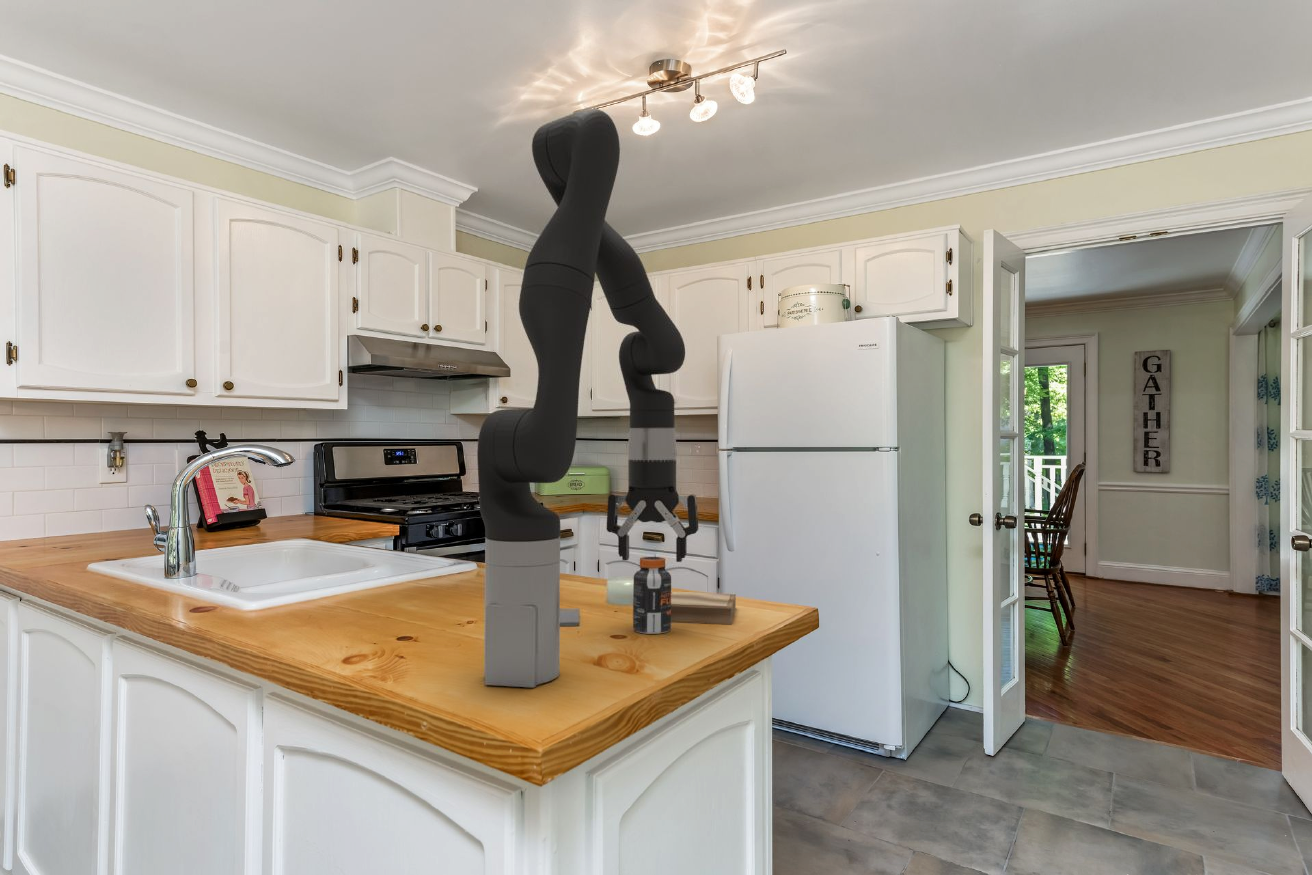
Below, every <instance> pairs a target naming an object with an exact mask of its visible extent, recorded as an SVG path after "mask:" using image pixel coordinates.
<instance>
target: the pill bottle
mask: <svg viewBox="0 0 1312 875" xmlns="http://www.w3.org/2000/svg"><path fill="white" fill-rule="evenodd" d="M639 568H640V569H639V570H637V571H636V572H635V573H634V575H633V577H634V585H633V606H632V623H633V624H632V628H633V630H634V631H635V632H637V633H640V634H646V635H647V634H648V635H657V634H659V635H660V634H664V633H665V634H666V633H668V632H669V631H671V628H672V622H671V592H672V574H670V572H668V571H667V570H666V558H665V557H661V556H643V557H642V556H641V557H640V558H639Z"/></svg>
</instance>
